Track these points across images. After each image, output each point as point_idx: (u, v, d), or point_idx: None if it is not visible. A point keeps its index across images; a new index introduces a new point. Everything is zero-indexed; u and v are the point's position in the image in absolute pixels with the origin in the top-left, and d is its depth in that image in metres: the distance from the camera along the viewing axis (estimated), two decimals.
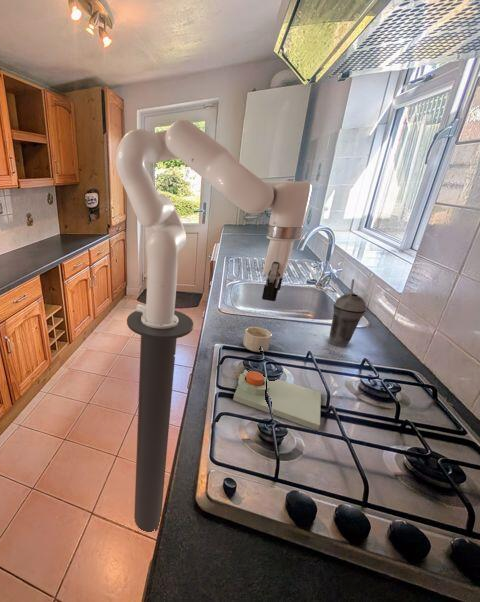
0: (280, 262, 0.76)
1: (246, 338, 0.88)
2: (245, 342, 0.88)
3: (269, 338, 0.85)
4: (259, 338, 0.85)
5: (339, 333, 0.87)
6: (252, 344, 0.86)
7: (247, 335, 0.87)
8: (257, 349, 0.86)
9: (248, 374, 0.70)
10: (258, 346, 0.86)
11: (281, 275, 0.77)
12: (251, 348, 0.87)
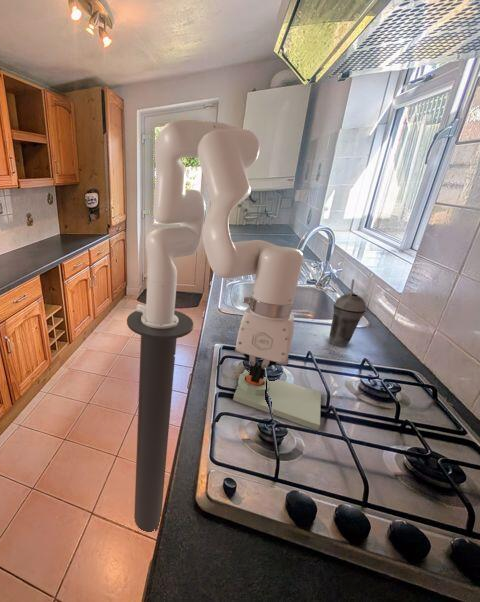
0: None
1: None
2: None
3: None
4: None
5: (339, 333, 0.87)
6: None
7: None
8: None
9: (248, 377, 0.70)
10: None
11: None
12: None
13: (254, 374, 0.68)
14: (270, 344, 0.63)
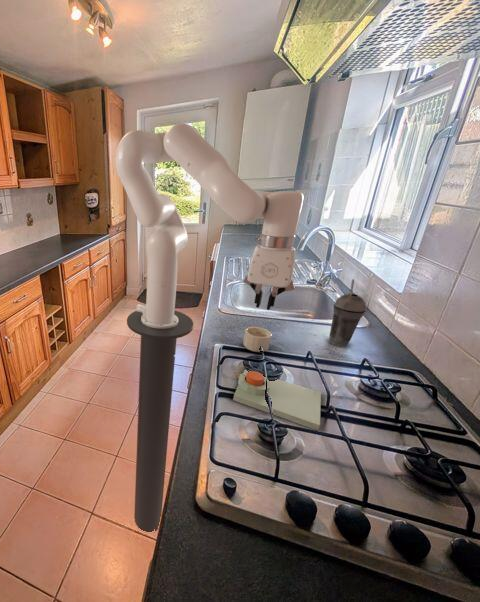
0: None
1: (246, 338, 0.88)
2: (245, 342, 0.88)
3: (269, 338, 0.85)
4: (259, 338, 0.85)
5: (339, 333, 0.87)
6: (252, 344, 0.86)
7: (247, 335, 0.87)
8: (257, 349, 0.86)
9: (248, 374, 0.70)
10: (258, 346, 0.86)
11: None
12: (251, 348, 0.87)
13: (258, 301, 0.83)
14: (276, 272, 0.77)
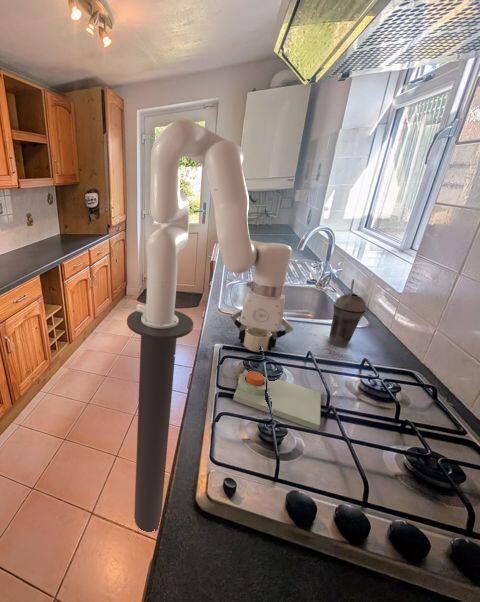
0: None
1: (246, 338, 0.88)
2: (245, 342, 0.88)
3: (269, 338, 0.85)
4: (259, 338, 0.85)
5: (339, 333, 0.87)
6: (252, 344, 0.86)
7: (247, 335, 0.87)
8: (257, 349, 0.86)
9: (248, 374, 0.70)
10: (258, 346, 0.86)
11: None
12: (251, 348, 0.87)
13: (242, 337, 0.89)
14: (266, 317, 0.82)
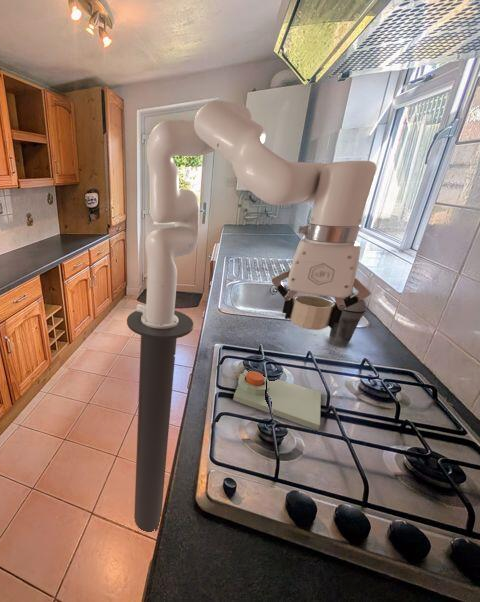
0: None
1: (296, 310, 0.61)
2: (294, 316, 0.62)
3: (332, 309, 0.58)
4: (317, 308, 0.58)
5: (339, 333, 0.87)
6: (306, 318, 0.59)
7: (298, 305, 0.60)
8: (313, 325, 0.59)
9: (248, 374, 0.70)
10: (315, 320, 0.59)
11: None
12: (304, 324, 0.60)
13: (289, 310, 0.62)
14: (331, 276, 0.55)
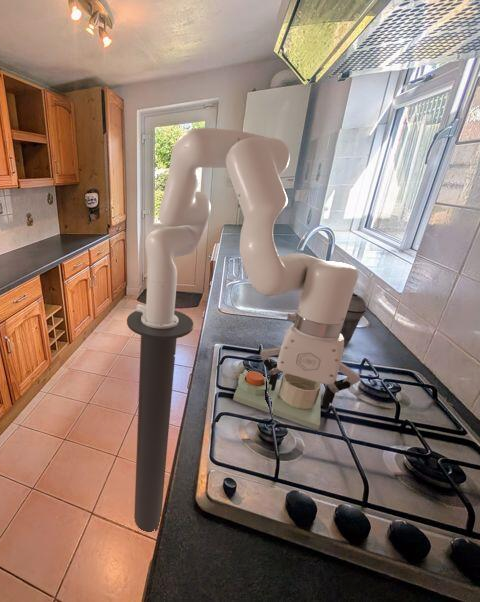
0: None
1: (284, 389, 0.65)
2: (283, 394, 0.65)
3: (318, 391, 0.62)
4: (304, 391, 0.61)
5: None
6: (294, 398, 0.63)
7: (286, 385, 0.64)
8: (301, 405, 0.63)
9: (248, 374, 0.70)
10: (302, 401, 0.62)
11: None
12: (292, 403, 0.64)
13: (274, 383, 0.66)
14: (317, 365, 0.59)
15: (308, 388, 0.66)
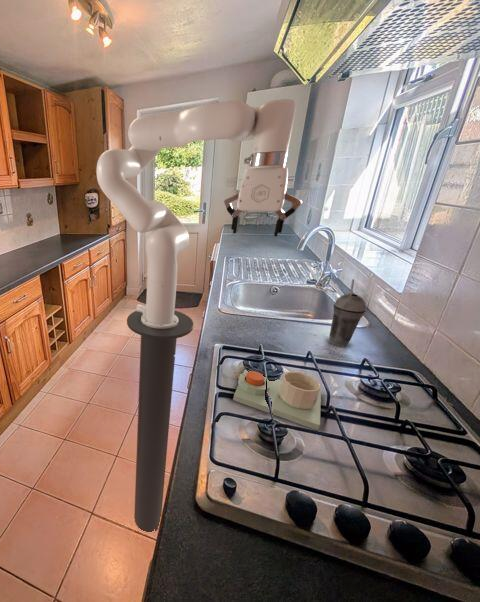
0: None
1: (284, 389, 0.65)
2: (283, 394, 0.65)
3: (318, 391, 0.62)
4: (304, 391, 0.61)
5: (339, 333, 0.87)
6: (294, 398, 0.63)
7: (286, 385, 0.64)
8: (301, 405, 0.63)
9: (248, 374, 0.70)
10: (302, 401, 0.62)
11: None
12: (292, 403, 0.64)
13: (235, 225, 0.79)
14: (267, 194, 0.72)
15: (308, 388, 0.66)
